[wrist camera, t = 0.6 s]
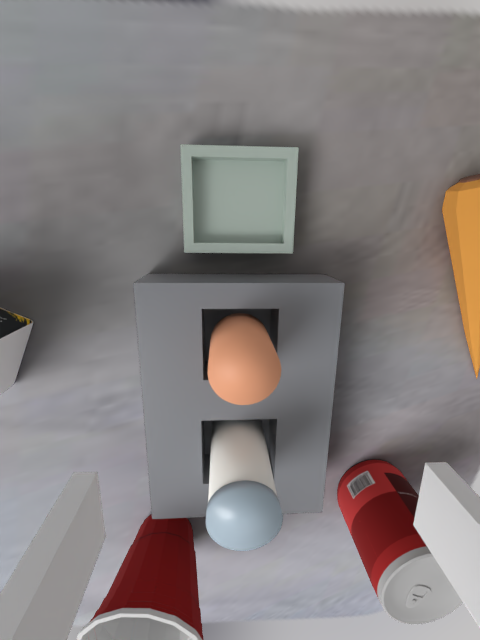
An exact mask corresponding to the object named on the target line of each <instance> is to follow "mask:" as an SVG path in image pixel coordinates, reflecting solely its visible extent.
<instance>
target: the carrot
mask: <svg viewBox="0 0 480 640" xmlns="http://www.w3.org/2000/svg"><path fill="white" fill-rule="evenodd" d="M442 212H443V217H444V223H445V228H446V234H447V239H448V244H449V250H450V255H451V261H452V266H453V271H454V277H455V282H456V288H457V293H458V298H459V304H460V309H461V315H462V320H463V326H464V331H465V335H466V339H467V343H468V347H469V351H470V355H471V359H472V362H473V366H474V370H475V374H476V378H477V377H478V372H479V367H480V174H478V175H473V176H468V177H465V178H462V179H460V180H459V182H458V183H457V184H455V185H453V186H452V187H450V188H449V189H448V190H447V191H446V194H445V198H444V203H443V207H442Z"/></svg>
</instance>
